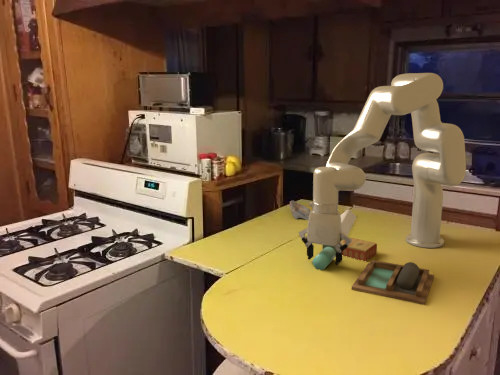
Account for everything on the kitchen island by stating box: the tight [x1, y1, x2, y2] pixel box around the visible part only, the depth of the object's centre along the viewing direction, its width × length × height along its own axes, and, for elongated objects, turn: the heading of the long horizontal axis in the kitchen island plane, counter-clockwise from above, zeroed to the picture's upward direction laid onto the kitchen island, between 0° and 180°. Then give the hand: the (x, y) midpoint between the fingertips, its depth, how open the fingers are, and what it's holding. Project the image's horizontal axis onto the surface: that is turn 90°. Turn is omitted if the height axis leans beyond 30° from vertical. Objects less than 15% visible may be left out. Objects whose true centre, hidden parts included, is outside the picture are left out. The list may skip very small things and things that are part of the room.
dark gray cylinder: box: [397, 261, 420, 290], centre depth 121 cm, size 9×4×4 cm, turn 151°
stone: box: [289, 200, 311, 221], centre depth 189 cm, size 17×5×10 cm
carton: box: [322, 237, 378, 262], centre depth 146 cm, size 8×16×4 cm, turn 49°
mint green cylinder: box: [312, 247, 336, 271], centre depth 137 cm, size 9×4×4 cm, turn 151°
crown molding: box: [340, 209, 357, 237], centre depth 172 cm, size 31×12×4 cm, turn 159°
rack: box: [351, 259, 435, 306], centre depth 123 cm, size 18×19×2 cm
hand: (324, 260), depth 137 cm, fingers open, 8 cm apart
